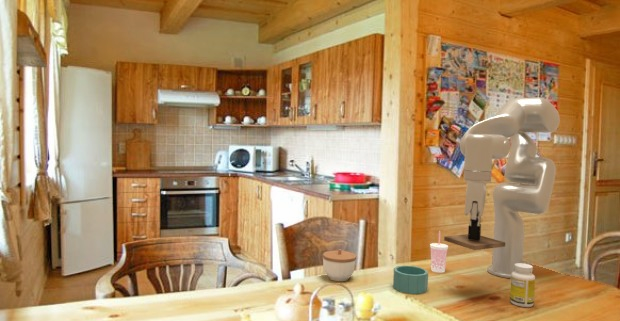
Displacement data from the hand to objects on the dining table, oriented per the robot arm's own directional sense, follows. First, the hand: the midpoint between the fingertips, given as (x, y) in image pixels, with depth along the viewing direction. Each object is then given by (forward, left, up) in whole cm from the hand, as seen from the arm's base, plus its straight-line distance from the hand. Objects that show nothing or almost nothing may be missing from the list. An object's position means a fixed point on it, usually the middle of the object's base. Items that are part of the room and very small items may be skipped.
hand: (474, 237), depth 132 cm
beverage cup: (-7, -22, -17) cm, 29 cm away
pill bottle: (-8, +11, -17) cm, 22 cm away
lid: (0, 0, -2) cm, 2 cm away
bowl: (+14, -11, -17) cm, 25 cm away
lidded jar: (+30, -27, -17) cm, 44 cm away
